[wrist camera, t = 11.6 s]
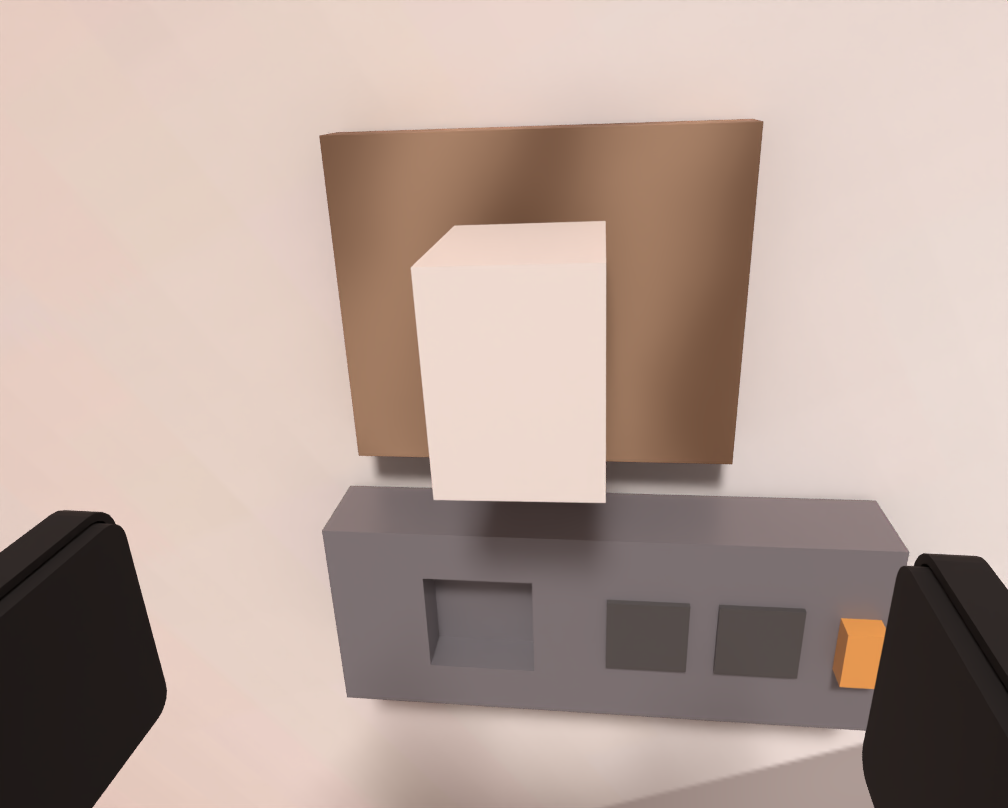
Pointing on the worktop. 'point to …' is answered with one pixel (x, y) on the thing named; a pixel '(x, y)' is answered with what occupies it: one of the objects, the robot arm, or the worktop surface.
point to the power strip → (616, 604)
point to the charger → (515, 361)
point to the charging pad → (548, 199)
